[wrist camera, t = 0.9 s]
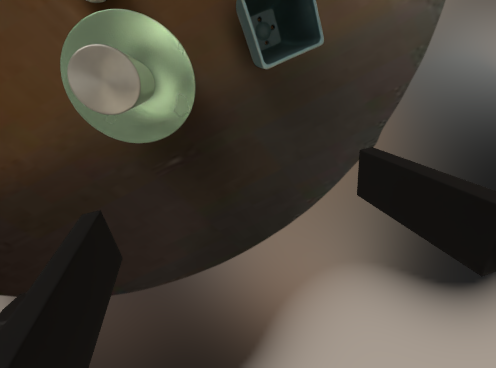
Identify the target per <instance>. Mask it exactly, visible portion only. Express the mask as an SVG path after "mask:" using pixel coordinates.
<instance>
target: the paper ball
mask: <svg viewBox="0 0 496 368" xmlns="http://www.w3.org/2000/svg"><path fill="white" fill-rule="evenodd" d="M86 1H88V2H93V3H101V2H104V1H107V0H86Z"/></svg>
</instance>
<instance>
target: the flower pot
mask: <svg viewBox="0 0 496 368" xmlns="http://www.w3.org/2000/svg"><path fill="white" fill-rule="evenodd" d="M236 11H237V15H238V18H239V21H240V24H241V27H242V29H243V32H244V35H245V38H246V41H247V44H248V47H249V50H250V54H251V57H252V60H253V62H254V64H255V65H256V66H257V67H260V68H263V69H269V68H271V67H273V66H276V65H278V64H280V63H282V62H284V61H287V60H289V59H291V58H293V57H296V56H298V55H300V54H302V53H305V52H307V51H309V50H312V49H314V48H316V47H319V46H321V45H322V44H323V43H324V36H323V31H322V27H321V22H320V18H319V13H318V8H317V4H316V0H237V2H236ZM259 17H260V18H261V21H260V22H259V21H258V18H259ZM272 25H273V26H274V29H271V26H272ZM265 41H268V44H267V45H266V44H265Z"/></svg>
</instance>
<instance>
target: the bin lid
mask: <svg viewBox="0 0 496 368" xmlns="http://www.w3.org/2000/svg"><path fill="white" fill-rule="evenodd" d="M60 70H61V78H62V81H63V85H64V88H65V91H66V93H67V96H68V97H69V99H70V101H71V103H72V105H73V106H74V107H75V109H76V110H77V112H78V113H79V114H80V115H81V116H82V117H83V118H84V119H85V120H86V121H87V122H88V123H89V124H90V125H91V126H93V127H94V128H96V129H97V130H98V131H100V132H102V133H104V134H105V135H107V136H110V137H112V138H114V139H117V140H121V141H125V142H130V143H148V142H154V141H157V140H160V139H163V138H165V137H167V136H169V135H171V134H172V133H174V132H175V131H176V130H177V129H178V128H180V127H181V125H182V124H183V123H184V122H185V120H186V119H187V117H188V116H189V114H190V112H191V109H192V106H193V103H194V99H195V89H196V85H195V76H194V71H193V67H192V64H191V61H190V59H189V57H188V55H187V53H186V51H185V49H184V48H183V46H182V45H181V43H180V42H179V41H178V39H177V38H176V37H175V36H174V35H173V34H172V33H171V32H170V31H169V30H168V29H167V28H166V27H164V26H163V25H162V24H160V23H159V22H157V21H156V20H154V19H153V18H151V17H148V16H146V15H144V14H141V13H139V12H136V11H131V10H126V9H106V10H102V11H98V12H95V13H93V14H91V15H88V16H87V17H85V18H84V19H82V20H81V21H80V22H79V23H77V24H76V25H75V26H74V27H73V29H72V30H71V31H70V33H69V34H68V36H67V38H66V40H65V42H64V45H63V48H62V53H61V59H60Z"/></svg>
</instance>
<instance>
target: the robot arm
mask: <svg viewBox="0 0 496 368" xmlns="http://www.w3.org/2000/svg"><path fill="white" fill-rule="evenodd" d="M357 188H358V189H357V195H358V196H359V197H361V198H363V199H364V200H366V201H367V202H369V203H370V204H372V205H373V206H375V207H376V208H378V209H379V210H381V211H383V212H384V213H386V214H387V215H389V216H390V217H392V218H393V219H395V220H396V221H398V222H399V223H401V224H402V225H404V226H406V227H407V228H408V229H410V230H411V231H413V232H415V233H416V234H418V235H419V236H421V237H422V238H424V239H425V240H427V241H429V242H430V243H431V244H433V245H434V246H436V247H438V248H439V249H441V250H442V251H444V252H445V253H447V254H448V255H450V256H451V257H453V258H454V259H456V260H457V261H459V262H460V263H462V264H463V265H465V266H467V267H468V268H470V269H471V270H473V271H474V272H476V273H477V274H479V275H480V276H485V275H488V274H490V273H493V272H495V271H496V191H494V190H491V189H488V188H485V187H482V186H480V185H477V184H474V183H471V182H468V181H466V180H463V179H460V178H457V177H454V176H451V175H449V174H446V173H443V172H440V171H438V170H435V169H432V168H429V167H426V166H424V165H421V164H418V163H415V162H412V161H410V160H407V159H404V158H401V157H398V156H395V155H393V154H390V153H387V152H384V151H381V150H379V149H376V148H373V147H371V148H367V149H362V150H360V155H359V172H358V187H357ZM121 261H122V256H121V253H120V251H119V249H118V247H117V245H116V243H115V240H114V238H113V236H112V234H111V232H110V230H109V228H108V225H107V223H106V221H105V219H104V217H103V215H102V212H101V210H100V211H96V212H92V213H88V214H83V215H82V216H81V217H80V218H79V220H78V221H77V223H76V224H75V225H74V227H73V228H72V230H71V231H70V233H69V234H68V235H67V237H66V238H65V240H64V241H63V242H62V244H61V245H60V247H59V248H58V250H57V251H56V252H55V254H54V255H53V257H52V258H51V259H50V261H49V262H48V264H47V265H46V267H45V268H44V269H43V271H42V272H41V274H40V275H39V276H38V278H37V279H36V281H35V282H34V284H33V285H32V286H31V288H30V289H29V291H28V292H26V293H23V294H20V295H19V296H18V297H17V298H15V299H14V300H13V301H12V302H11V303H10V304H9V305H8V306H6V307H5V308H4V309H3V310H2V312H1V313H0V368H89V364H90V361H91V358H92V355H93V352H94V348H95V345H96V341H97V338H98V335H99V332H100V329H101V326H102V323H103V319H104V316H105V313H106V310H107V306H108V303H109V300H110V297H111V294H112V290H113V287H114V284H115V281H116V278H117V274H118V271H119V268H120V265H121Z"/></svg>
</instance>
